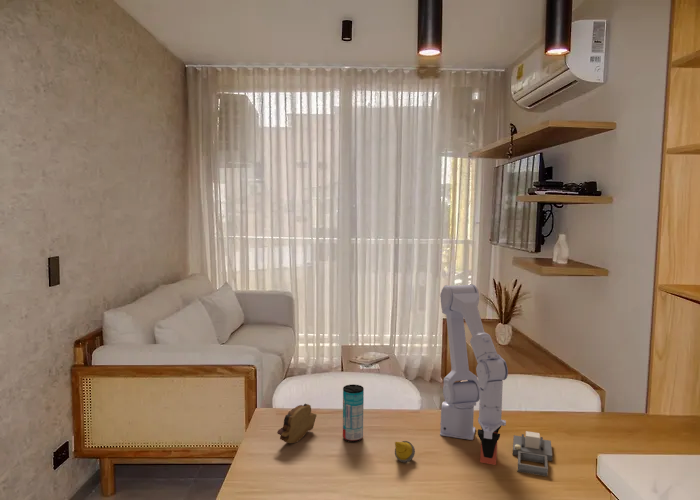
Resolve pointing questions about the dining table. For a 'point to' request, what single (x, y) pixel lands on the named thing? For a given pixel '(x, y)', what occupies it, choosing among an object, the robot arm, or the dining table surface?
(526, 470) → the frame
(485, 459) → the peg
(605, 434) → the dining table surface
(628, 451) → the dining table surface
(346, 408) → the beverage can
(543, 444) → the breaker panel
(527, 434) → the switch
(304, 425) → the wooden carving
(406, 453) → the yellow flanged cylinder
